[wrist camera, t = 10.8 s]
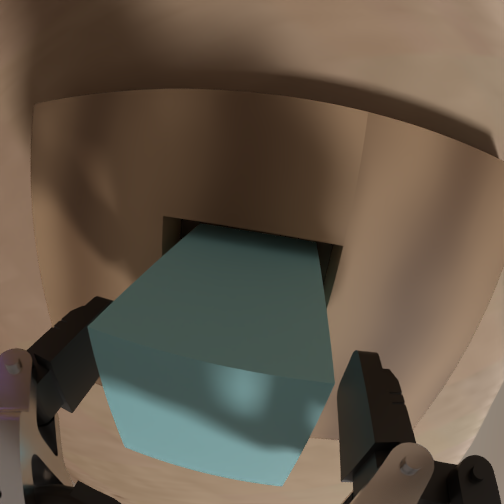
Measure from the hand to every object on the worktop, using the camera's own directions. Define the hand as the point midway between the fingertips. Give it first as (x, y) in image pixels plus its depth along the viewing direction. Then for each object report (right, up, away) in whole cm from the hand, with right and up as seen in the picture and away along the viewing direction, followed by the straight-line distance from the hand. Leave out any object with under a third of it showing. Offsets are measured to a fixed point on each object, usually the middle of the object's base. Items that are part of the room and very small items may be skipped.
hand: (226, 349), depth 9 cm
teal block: (+1, +2, +4) cm, 5 cm away
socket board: (+1, +2, +4) cm, 4 cm away
